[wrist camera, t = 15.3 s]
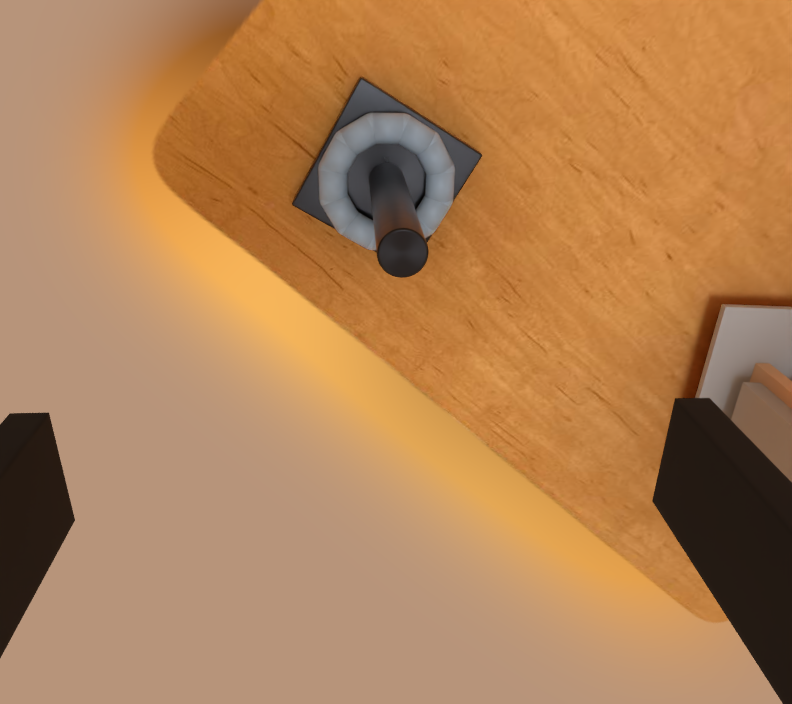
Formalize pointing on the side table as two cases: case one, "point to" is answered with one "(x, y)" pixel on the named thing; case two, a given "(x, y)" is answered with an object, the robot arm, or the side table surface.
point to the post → (387, 182)
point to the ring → (384, 132)
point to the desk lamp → (754, 376)
